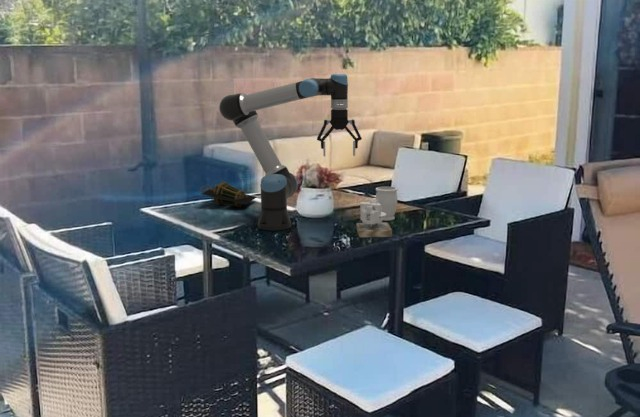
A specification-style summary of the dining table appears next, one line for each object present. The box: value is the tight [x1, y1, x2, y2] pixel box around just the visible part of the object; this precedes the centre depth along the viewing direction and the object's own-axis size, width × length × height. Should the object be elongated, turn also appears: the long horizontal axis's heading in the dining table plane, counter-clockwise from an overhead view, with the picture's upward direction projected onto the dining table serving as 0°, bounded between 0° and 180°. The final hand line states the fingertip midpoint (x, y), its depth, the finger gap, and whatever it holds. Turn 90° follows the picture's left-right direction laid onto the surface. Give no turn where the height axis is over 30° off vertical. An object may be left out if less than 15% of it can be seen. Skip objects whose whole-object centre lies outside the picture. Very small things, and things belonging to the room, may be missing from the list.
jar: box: [374, 186, 398, 222], centre depth 320 cm, size 11×10×15 cm
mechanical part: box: [359, 199, 386, 227], centre depth 293 cm, size 11×12×12 cm
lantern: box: [199, 179, 258, 208], centre depth 354 cm, size 14×23×30 cm
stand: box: [356, 221, 393, 238], centre depth 295 cm, size 14×14×3 cm
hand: (339, 155), depth 307 cm, fingers open, 13 cm apart
